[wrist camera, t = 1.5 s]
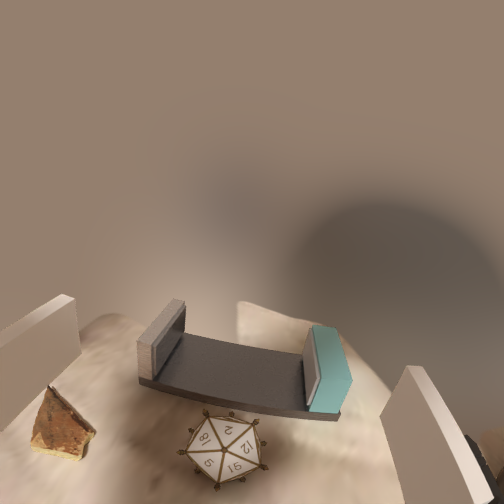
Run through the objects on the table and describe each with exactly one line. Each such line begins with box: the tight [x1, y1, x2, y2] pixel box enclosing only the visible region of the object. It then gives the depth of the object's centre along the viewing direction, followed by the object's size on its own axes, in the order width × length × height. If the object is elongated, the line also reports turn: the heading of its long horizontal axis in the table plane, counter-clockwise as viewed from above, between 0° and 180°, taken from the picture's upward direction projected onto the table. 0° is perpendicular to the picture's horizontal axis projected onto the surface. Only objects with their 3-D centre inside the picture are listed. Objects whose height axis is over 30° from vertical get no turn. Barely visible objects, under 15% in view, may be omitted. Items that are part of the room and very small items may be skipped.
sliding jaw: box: [303, 325, 353, 414], centre depth 39 cm, size 14×4×6 cm, turn 174°
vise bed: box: [137, 299, 341, 421], centre depth 40 cm, size 14×28×8 cm, turn 84°
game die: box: [176, 409, 269, 492], centre depth 23 cm, size 9×8×10 cm
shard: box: [30, 385, 95, 461], centre depth 24 cm, size 11×8×2 cm
